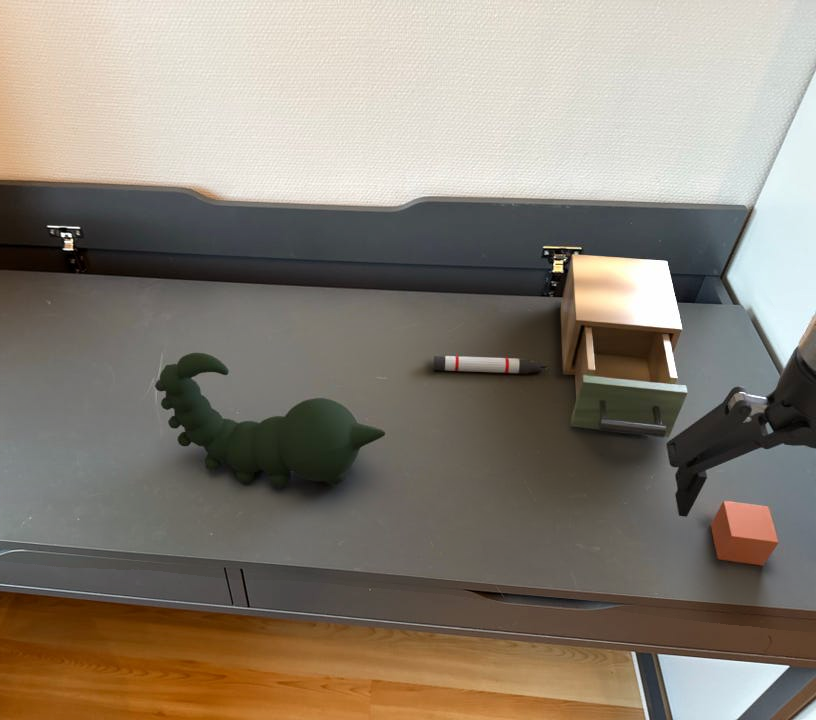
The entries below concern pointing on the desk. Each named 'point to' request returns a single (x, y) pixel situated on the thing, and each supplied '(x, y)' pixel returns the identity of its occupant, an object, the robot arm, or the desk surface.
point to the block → (744, 533)
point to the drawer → (626, 382)
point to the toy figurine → (264, 431)
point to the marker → (486, 364)
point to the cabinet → (616, 299)
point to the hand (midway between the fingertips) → (751, 515)
